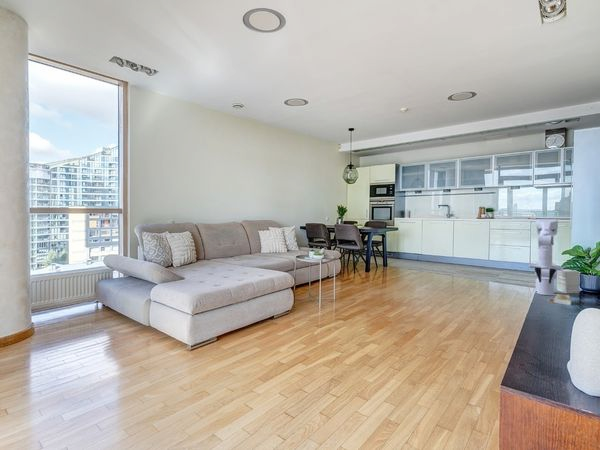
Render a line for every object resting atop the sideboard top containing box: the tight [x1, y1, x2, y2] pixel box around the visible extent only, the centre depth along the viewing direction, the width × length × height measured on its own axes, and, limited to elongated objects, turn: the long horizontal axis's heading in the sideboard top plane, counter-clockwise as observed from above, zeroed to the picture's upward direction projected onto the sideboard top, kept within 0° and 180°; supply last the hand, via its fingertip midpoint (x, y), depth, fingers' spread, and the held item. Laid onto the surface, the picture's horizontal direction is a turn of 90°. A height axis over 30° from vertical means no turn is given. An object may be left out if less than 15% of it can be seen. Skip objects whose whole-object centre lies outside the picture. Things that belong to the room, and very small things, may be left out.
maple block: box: [556, 293, 570, 301], centre depth 161 cm, size 5×4×4 cm
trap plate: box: [547, 298, 555, 304], centre depth 164 cm, size 3×7×1 cm, turn 137°
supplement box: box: [556, 269, 580, 294], centre depth 181 cm, size 7×7×13 cm
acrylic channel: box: [554, 295, 572, 306], centre depth 161 cm, size 6×7×2 cm
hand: (544, 282), depth 166 cm, fingers open, 3 cm apart
